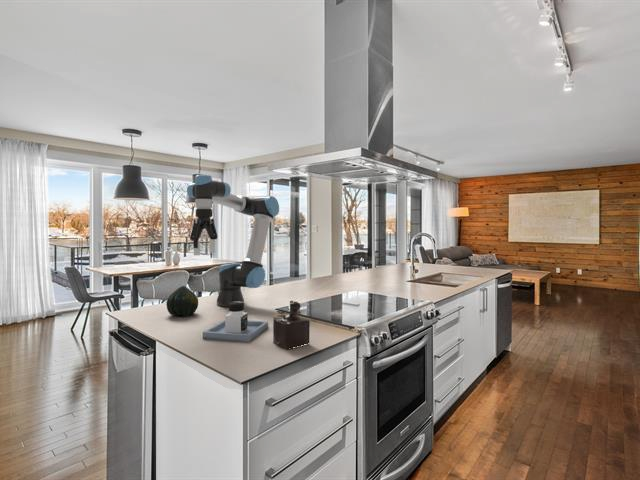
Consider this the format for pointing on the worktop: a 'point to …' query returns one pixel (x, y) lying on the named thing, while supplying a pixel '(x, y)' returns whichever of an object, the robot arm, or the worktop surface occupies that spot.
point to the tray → (246, 336)
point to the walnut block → (279, 315)
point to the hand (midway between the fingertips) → (204, 254)
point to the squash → (182, 302)
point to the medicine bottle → (236, 318)
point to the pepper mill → (291, 328)
